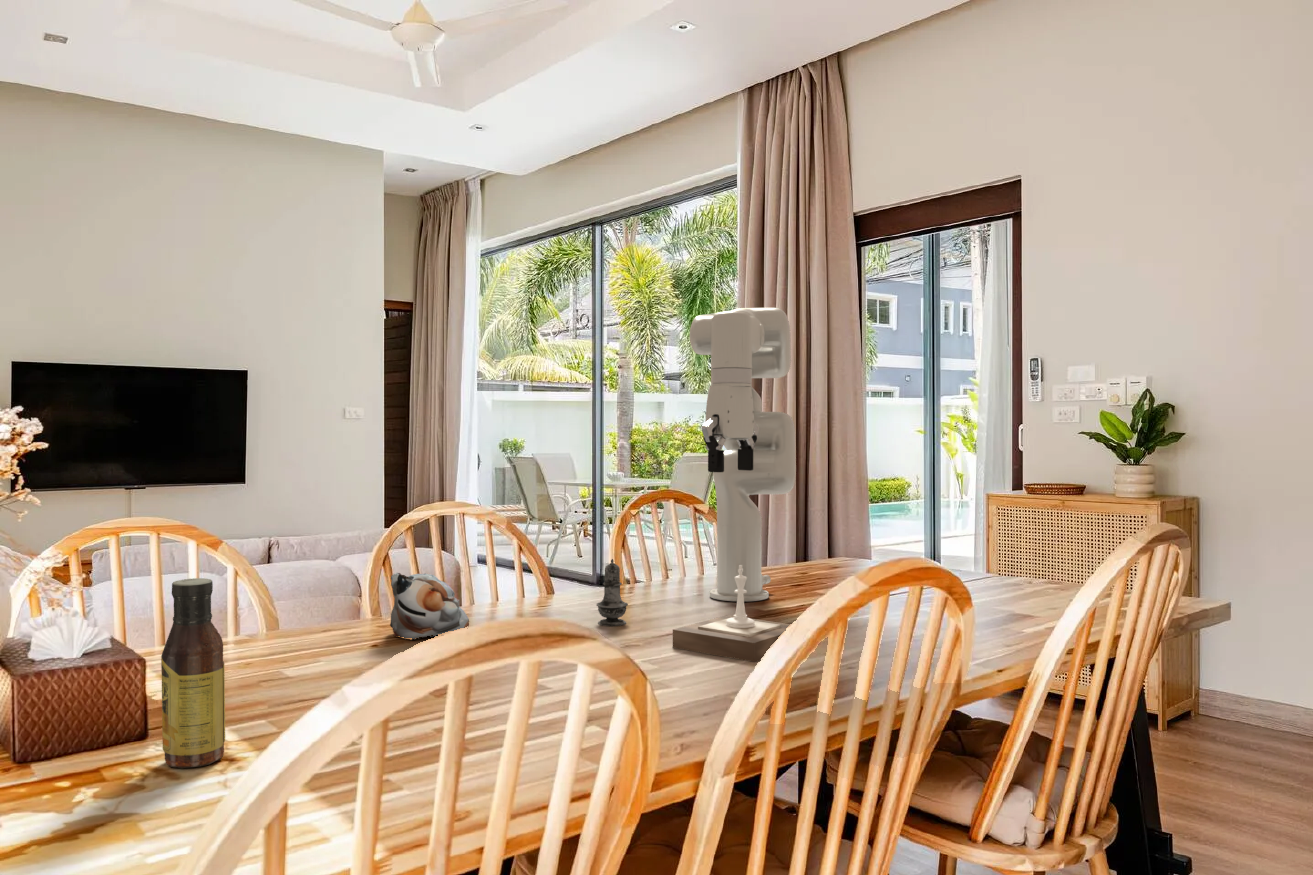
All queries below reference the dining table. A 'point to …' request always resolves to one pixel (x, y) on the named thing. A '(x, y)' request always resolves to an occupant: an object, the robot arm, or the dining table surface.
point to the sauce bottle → (193, 680)
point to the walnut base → (728, 638)
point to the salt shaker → (612, 598)
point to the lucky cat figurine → (424, 607)
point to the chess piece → (740, 605)
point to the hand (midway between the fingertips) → (731, 471)
